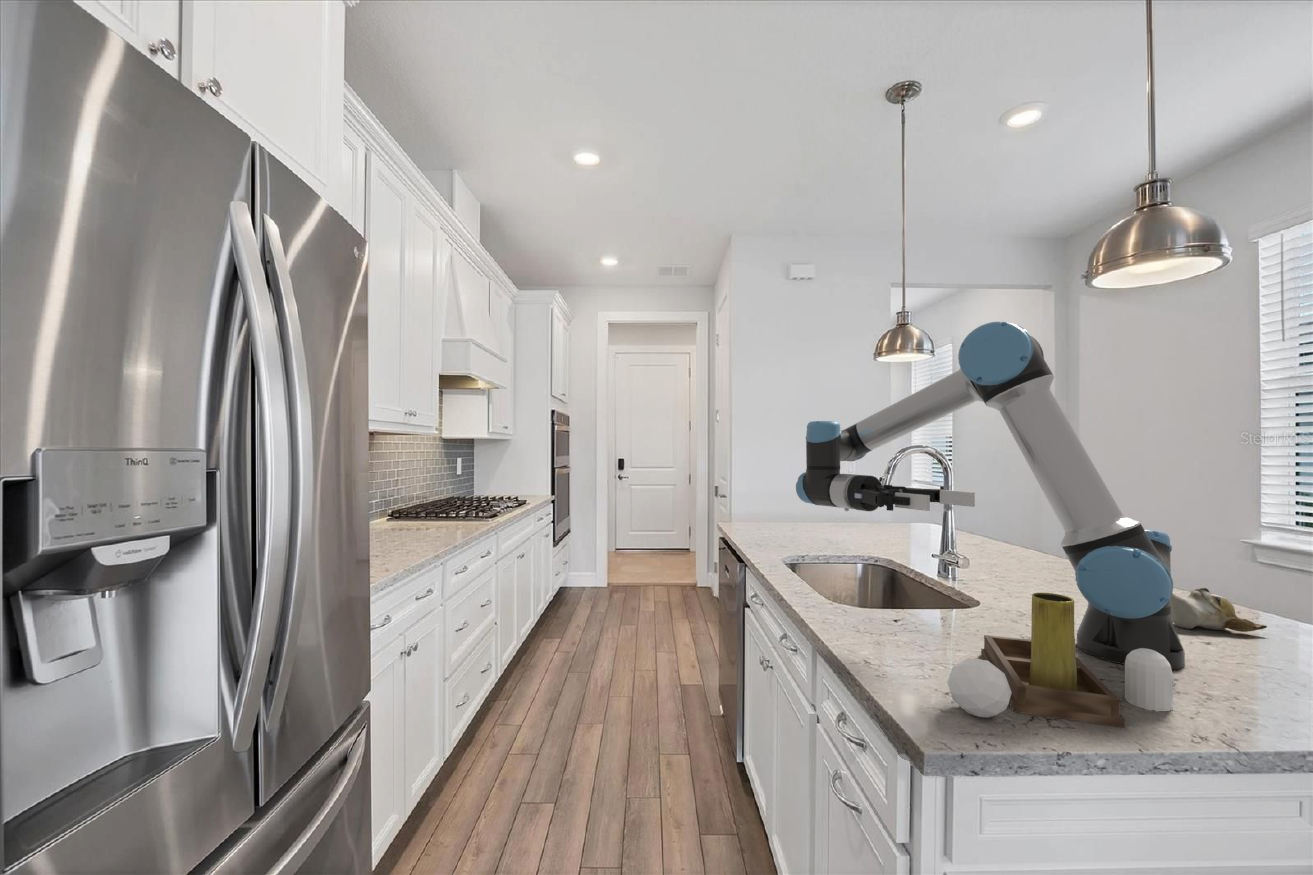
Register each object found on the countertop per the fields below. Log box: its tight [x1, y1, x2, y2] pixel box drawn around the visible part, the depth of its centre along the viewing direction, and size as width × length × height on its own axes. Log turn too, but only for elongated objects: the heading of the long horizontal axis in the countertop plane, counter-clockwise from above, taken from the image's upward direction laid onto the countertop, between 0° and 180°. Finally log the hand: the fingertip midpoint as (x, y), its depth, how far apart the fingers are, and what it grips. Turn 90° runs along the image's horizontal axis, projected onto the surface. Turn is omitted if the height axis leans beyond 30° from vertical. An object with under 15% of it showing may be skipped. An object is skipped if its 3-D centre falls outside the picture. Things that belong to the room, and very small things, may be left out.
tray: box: [980, 634, 1126, 728], centre depth 89 cm, size 13×23×4 cm, turn 160°
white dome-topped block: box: [1124, 648, 1174, 712], centre depth 83 cm, size 5×5×8 cm
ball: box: [946, 657, 1012, 719], centre depth 80 cm, size 8×8×8 cm
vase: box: [1029, 592, 1077, 691], centre depth 84 cm, size 6×6×14 cm
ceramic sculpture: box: [1171, 587, 1268, 633], centre depth 118 cm, size 11×9×15 cm
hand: (951, 501), depth 102 cm, fingers open, 13 cm apart
